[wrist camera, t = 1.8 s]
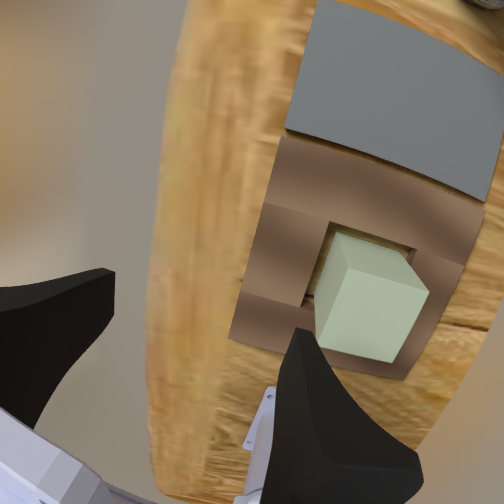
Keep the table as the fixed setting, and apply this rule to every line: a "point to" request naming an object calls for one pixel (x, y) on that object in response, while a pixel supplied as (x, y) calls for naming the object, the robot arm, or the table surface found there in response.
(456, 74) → the mat
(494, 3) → the pill bottle
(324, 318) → the sage block
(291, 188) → the pocket board
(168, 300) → the table surface
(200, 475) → the table surface
